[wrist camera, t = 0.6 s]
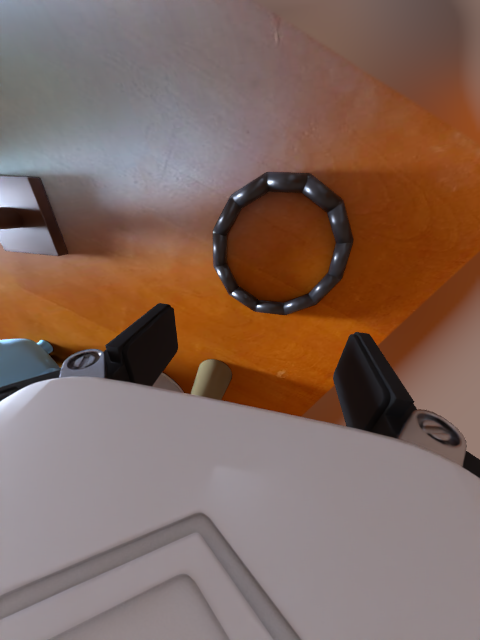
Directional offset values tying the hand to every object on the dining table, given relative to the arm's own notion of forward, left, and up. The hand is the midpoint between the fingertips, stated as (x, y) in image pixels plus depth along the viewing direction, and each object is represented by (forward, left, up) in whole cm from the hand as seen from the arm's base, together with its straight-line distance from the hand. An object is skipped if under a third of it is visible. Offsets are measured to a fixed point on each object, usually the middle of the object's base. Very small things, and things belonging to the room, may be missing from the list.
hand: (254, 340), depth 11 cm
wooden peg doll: (+19, -7, -16) cm, 26 cm away
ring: (-2, +1, -15) cm, 15 cm away
